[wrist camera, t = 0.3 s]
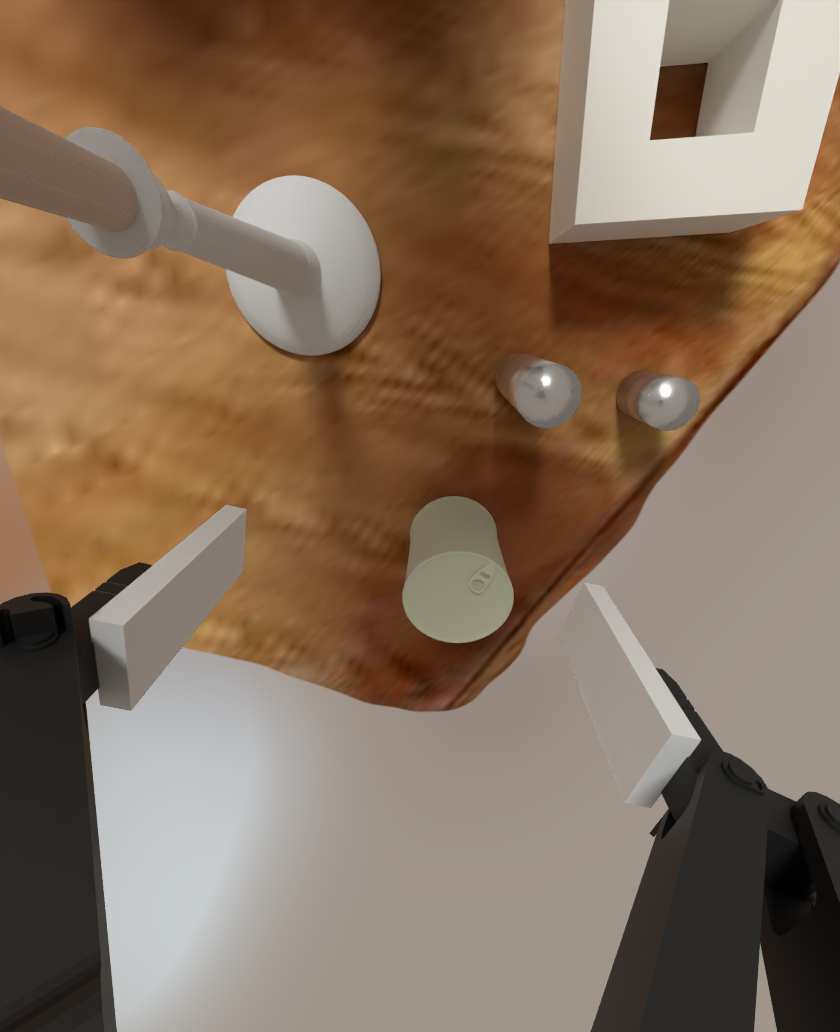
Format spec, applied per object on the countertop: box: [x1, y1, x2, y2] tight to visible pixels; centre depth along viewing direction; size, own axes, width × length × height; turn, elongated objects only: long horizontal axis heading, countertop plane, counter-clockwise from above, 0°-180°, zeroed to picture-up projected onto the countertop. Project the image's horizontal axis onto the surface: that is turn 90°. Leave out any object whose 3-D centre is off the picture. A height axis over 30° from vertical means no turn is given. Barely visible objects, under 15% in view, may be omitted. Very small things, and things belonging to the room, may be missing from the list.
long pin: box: [495, 352, 582, 428], centre depth 32 cm, size 4×4×12 cm
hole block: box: [549, 0, 840, 244], centre depth 27 cm, size 14×14×7 cm
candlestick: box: [0, 107, 381, 356], centre depth 21 cm, size 13×13×30 cm
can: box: [402, 496, 514, 643], centre depth 39 cm, size 9×9×12 cm
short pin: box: [616, 370, 700, 431], centre depth 35 cm, size 4×4×6 cm
